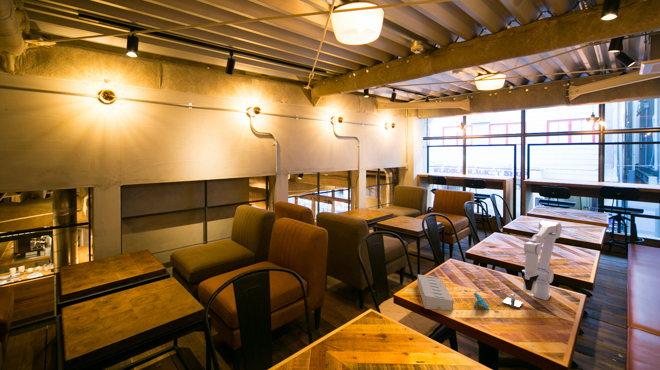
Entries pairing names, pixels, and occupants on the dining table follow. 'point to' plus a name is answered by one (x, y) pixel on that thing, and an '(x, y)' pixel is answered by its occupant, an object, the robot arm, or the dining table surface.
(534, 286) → the square tube cup
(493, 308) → the dining table surface
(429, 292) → the warehouse
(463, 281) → the dining table surface
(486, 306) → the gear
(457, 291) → the dining table surface
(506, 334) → the dining table surface
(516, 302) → the shaft block
